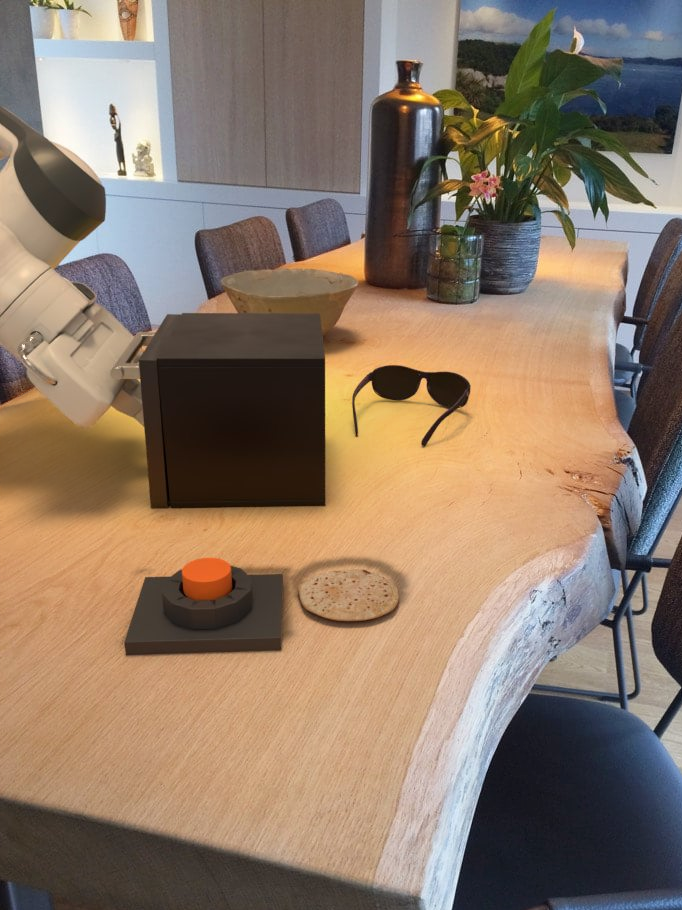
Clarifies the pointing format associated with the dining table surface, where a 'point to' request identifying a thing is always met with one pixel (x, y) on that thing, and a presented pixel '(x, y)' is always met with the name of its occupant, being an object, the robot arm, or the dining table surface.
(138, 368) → the oven door
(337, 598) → the flatbread
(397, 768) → the dining table surface
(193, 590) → the button
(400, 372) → the sunglasses
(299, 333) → the mini oven
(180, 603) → the block
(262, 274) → the ceramic bowl
